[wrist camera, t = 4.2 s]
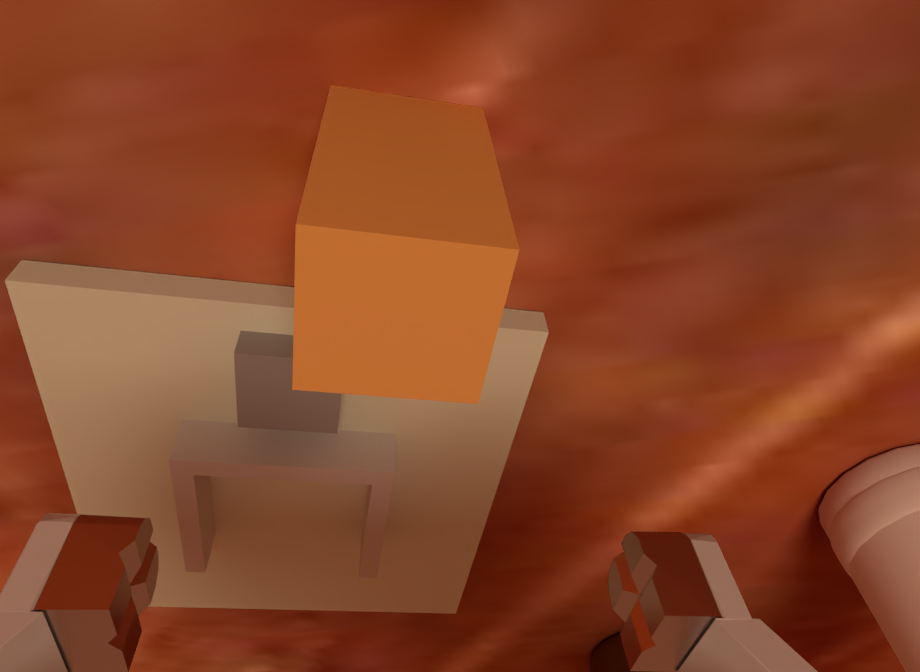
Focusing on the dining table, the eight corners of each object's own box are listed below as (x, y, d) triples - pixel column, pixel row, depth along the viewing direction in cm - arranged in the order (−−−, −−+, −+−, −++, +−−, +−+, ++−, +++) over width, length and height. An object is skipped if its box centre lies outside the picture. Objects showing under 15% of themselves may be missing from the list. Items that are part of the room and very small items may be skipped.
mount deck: (21, 259, 22) (-27, 319, 19) (543, 312, 25) (558, 369, 22) (113, 583, 34) (90, 645, 32) (454, 593, 37) (458, 650, 35)
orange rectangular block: (330, 84, 19) (295, 224, 13) (482, 107, 20) (519, 249, 14) (323, 221, 22) (292, 390, 16) (457, 237, 22) (478, 404, 16)
